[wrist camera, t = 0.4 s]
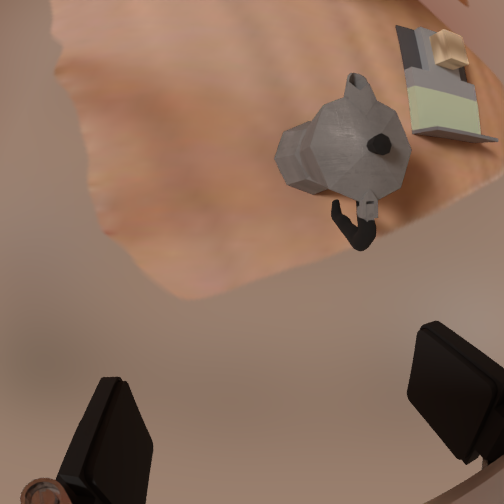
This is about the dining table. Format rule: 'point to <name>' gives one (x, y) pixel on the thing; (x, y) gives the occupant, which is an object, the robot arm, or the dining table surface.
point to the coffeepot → (348, 156)
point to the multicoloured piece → (438, 92)
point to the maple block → (448, 50)
